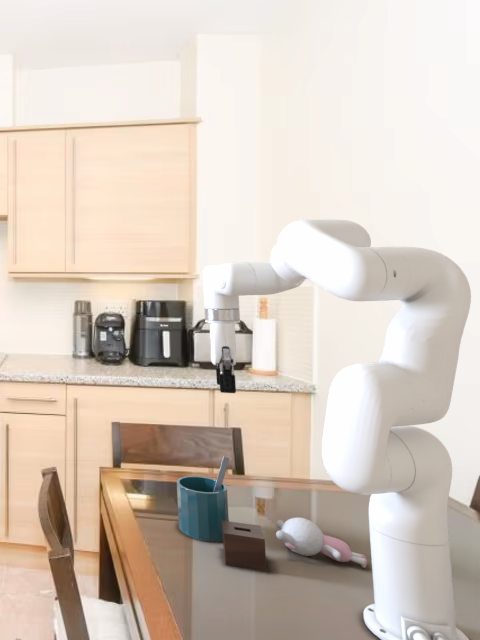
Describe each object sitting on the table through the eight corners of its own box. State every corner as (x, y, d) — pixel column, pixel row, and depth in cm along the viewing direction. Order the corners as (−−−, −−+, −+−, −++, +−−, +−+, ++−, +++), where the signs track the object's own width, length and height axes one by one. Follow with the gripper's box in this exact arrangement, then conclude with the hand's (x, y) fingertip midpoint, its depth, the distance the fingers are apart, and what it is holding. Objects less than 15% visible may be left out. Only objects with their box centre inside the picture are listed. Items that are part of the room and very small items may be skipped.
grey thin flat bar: (211, 530, 112) (231, 459, 114) (201, 525, 113) (221, 455, 115) (211, 530, 113) (231, 459, 115) (201, 525, 114) (221, 455, 116)
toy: (351, 572, 103) (270, 529, 110) (365, 542, 102) (282, 500, 109) (359, 594, 96) (271, 546, 103) (374, 562, 95) (284, 515, 102)
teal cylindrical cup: (231, 544, 107) (228, 496, 108) (178, 536, 111) (176, 489, 112) (227, 524, 117) (225, 479, 117) (179, 517, 121) (177, 473, 121)
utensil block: (266, 571, 97) (264, 539, 97) (225, 564, 100) (223, 533, 100) (262, 556, 103) (260, 525, 103) (223, 550, 105) (221, 520, 106)
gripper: (203, 314, 132) (206, 381, 131) (207, 318, 116) (211, 395, 115) (235, 314, 129) (239, 382, 128) (244, 318, 113) (248, 397, 112)
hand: (225, 388), depth 121 cm, fingers open, 9 cm apart
